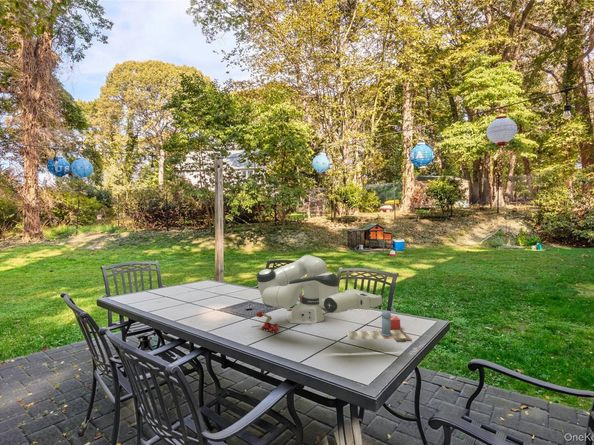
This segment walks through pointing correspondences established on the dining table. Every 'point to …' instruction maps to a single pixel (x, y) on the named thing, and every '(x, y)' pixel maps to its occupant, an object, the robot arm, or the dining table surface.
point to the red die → (394, 323)
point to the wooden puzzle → (293, 306)
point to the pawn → (386, 323)
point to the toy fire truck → (268, 324)
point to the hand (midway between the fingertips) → (372, 294)
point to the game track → (396, 335)
